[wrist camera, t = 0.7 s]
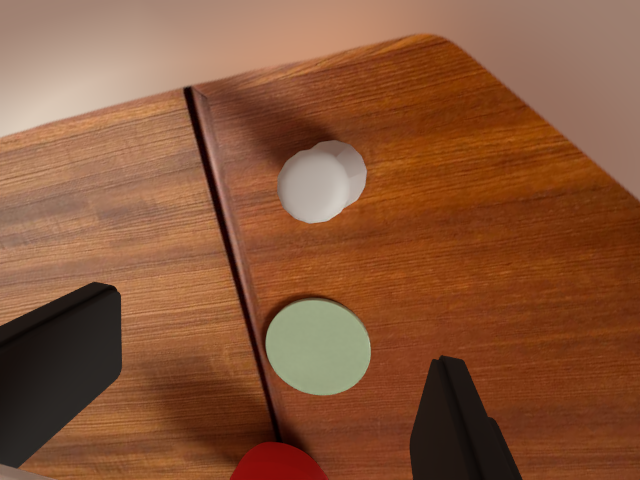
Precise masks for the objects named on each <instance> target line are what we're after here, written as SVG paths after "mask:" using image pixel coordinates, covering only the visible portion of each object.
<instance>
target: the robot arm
mask: <svg viewBox="0 0 640 480" xmlns="http://www.w3.org/2000/svg"><path fill="white" fill-rule="evenodd" d="M121 369H122V342H121V295H120V293H119V292H117V289H116V287H114V286H112V285H108V284H103V283H98V282H93V283H90V284H88V285H86V286H84V287H81V288H79V289H77V290H75V291H73V292H71V293H69V294H67V295H65V296H62V297H60V298H58V299H56V300H54V301H52V302H50V303H48V304H46V305H44V306H41V307H39V308H37V309H35V310H33V311H31V312H29V313H27V314H25V315H23V316H20V317H18V318H16V319H14V320H12V321H10V322H8V323H6V324H4V325H2V326H0V480H57V479H53V478H49V477H46V476H42V475H38V474H35V473H31V472H27V471H24V470H20V469H17V468H18V467H19V466H21V465H22V464H23V463H24V462H25V461H26V460H27V459H28V458H29V457H31V456H32V455H33V454H34V453H35V452H36V451H37V450H38V449H40V448H41V447H42V446H43V445H44V444H45V443H46V442H47V441H48V440H50V439H51V438H52V437H53V436H54V435H55V434H56V433H57V432H58V431H60V430H61V429H62V428H63V427H64V426H65V425H66V424H67V423H68V422H70V421H71V420H72V419H73V418H74V417H75V416H76V415H77V414H78V413H80V412H81V411H82V410H83V409H84V408H85V407H86V406H87V405H88V404H90V403H91V402H92V401H93V400H94V399H95V398H96V397H97V396H99V395H100V394H101V393H102V392H103V391H104V390H105V389H106V388H107V387H109V386H110V385H111V384H112V383H113V382H114V381H115V380H116V379H117V378H118V376H119V375H120V372H121ZM410 457H411V466H412V474H413V480H523V479H522V477H521V475H520V473H519V470H518V468H517V466H516V464H515V462H514V459H513V457H512V455H511V453H510V450H509V448H508V446H507V444H506V442H505V439H504V437H503V435H502V433H501V431H500V428H499V426H498V424H497V423H496V421H495V420H494V419H493V418H491V417H488V416H487V413H486V411H485V409H484V406H483V404H482V402H481V399H480V397H479V395H478V392H477V390H476V388H475V385H474V383H473V381H472V378H471V376H470V374H469V371H468V369H467V367H466V364H465V362H464V361H463V360H462V359H457V358H452V357H448V356H443V355H442V356H440V358H439V360H436V359H433V360H432V362H431V365H430V368H429V372H428V376H427V379H426V383H425V386H424V390H423V394H422V397H421V401H420V405H419V408H418V412H417V415H416V419H415V423H414V426H413V430H412V434H411V438H410Z"/></svg>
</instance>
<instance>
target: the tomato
mask: <svg viewBox="0 0 640 480" xmlns="http://www.w3.org/2000/svg"><path fill="white" fill-rule="evenodd" d="M230 480H329V479H328V478H327V476H326V475H325V473H324V472H323V471H322V469H321V468H320V466H319V465H318V464H317V463H316V462H315V461H314V460H313V459H312V458H311V457H310V456H309V455H307V454H306V453H305V452H303V451H302V450H300V449H298V448H296V447H294V446H291V445H288V444H284V443H279V442H264V443H260V444H259V445H257V446H255V447H253V448H252V449H250V450H249V451H248V452H247V453H246V454H245V455H244V456H243V458H242V459H241V460H240V462H239V464H238V465H237V467H236V469H235V470H234V472H233V474H232V476H231V477H230Z"/></svg>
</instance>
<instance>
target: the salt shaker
mask: <svg viewBox="0 0 640 480" xmlns="http://www.w3.org/2000/svg"><path fill="white" fill-rule="evenodd" d="M366 175H367V170H366V167H365V164H364V162H363V159H362V157H361V155H360V154H359V153H358V152H357V151H356V150H355V149H354V148H353V147H352V146H351V145H350V144H346V143H343V142H340V141H336V140H332V141H325V142H319V143H318V144H317V145H315V146H314V147H313V148H311V149H310V150H304V151H299V152H298V153H297V154H295V155H294V156H293V157H291V158H290V159H289V160H287V161H286V162H285V164H284V166H283V168H282V170H281V172H280V173H279V175H278V185H277V193H278V196H279V198H280V201H281V203H282V206H283V208H284V209H285V210H286V211H287V212H288V213H290V214H291V215H292V216H293V217H294V218H295V219H298V220H301V221H304V222H307V223H317V222H324V221H328V220H329V219H331V218H333V217H334V216H336V215H337V214H339V213H341V211H342V209H343V208H345V207H347V206H348V205H350V204H351V203H353V202H355V201H356V200H357V199H358V198H359V196H360V194H361V193H362V191H363V189H364V187H365V182H366Z"/></svg>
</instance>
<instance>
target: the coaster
mask: <svg viewBox="0 0 640 480" xmlns="http://www.w3.org/2000/svg"><path fill="white" fill-rule="evenodd" d="M266 352H267V356H268V359H269V362H270V364H271V366H272V367H273V369H274V370H275V372H276V373H277V374H278V375H279V377H280V378H281V379H283V380H284V381H285V382H286V383H287V384H289V385H290V386H292V387H294V388H295V389H298V390H300V391H302V392H305V393H309V394H314V395H331V394H336V393H340V392H343V391H345V390H347V389H349V388H351V387H352V386H353V385H355V384H356V383H357V382H358V381H359V380H360V379H361V378H362V376H363V375H364V374H365V372H366V370H367V368H368V365H369V362H370V356H371V345H370V339H369V335H368V333H367V330H366V328H365V326H364V325H363V323H362V322H361V320H360V319H359V318H358V317H357V316H356V315H355V314H354V313H353V312H352V311H351V310H349V309H348V308H346V307H345V306H343V305H341V304H339V303H337V302H335V301H331V300H328V299H322V298H306V299H301V300H298V301H295V302H292V303H290V304H288V305H287V306H285V307H284V308H282V309H281V310H280V311H279V312H278V313H277V314H276V316H275V317H274V318H273V320H272V322H271V323H270V325H269V328H268V330H267V334H266Z"/></svg>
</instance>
